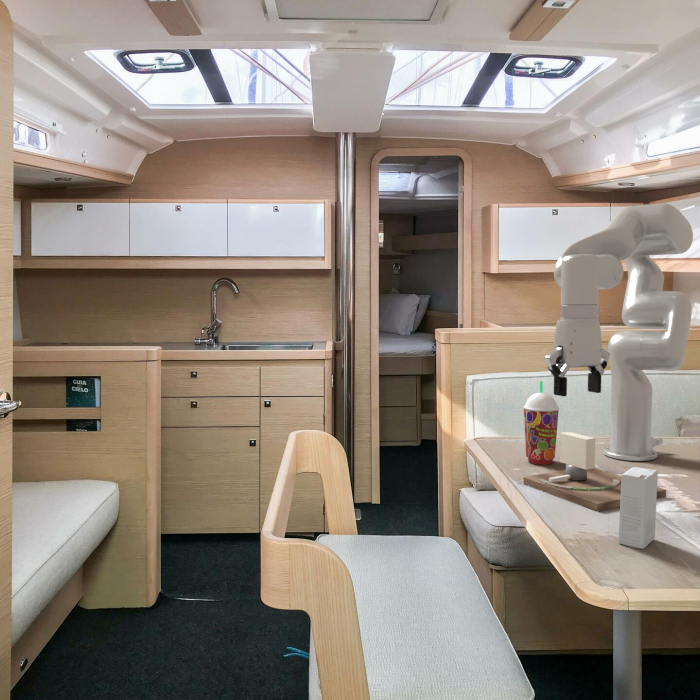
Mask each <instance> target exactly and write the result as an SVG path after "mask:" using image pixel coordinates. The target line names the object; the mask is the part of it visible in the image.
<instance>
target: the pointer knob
mask: <svg viewBox="0 0 700 700" xmlns="http://www.w3.org/2000/svg"><path fill="white" fill-rule="evenodd" d="M558 457H559V463H562V464H565V470H566V475H563V476H557V477H552V478H549V481H551V482H554V481H559V480H565V479H571V480H586V479H587V469H592V468H596V467H595V466H596V462H595V461H596V438H595V437H591V436H587V435H583V434H579V433H576V432H572V431H566V432H565V431H563V432H560V433H559V456H558Z"/></svg>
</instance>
